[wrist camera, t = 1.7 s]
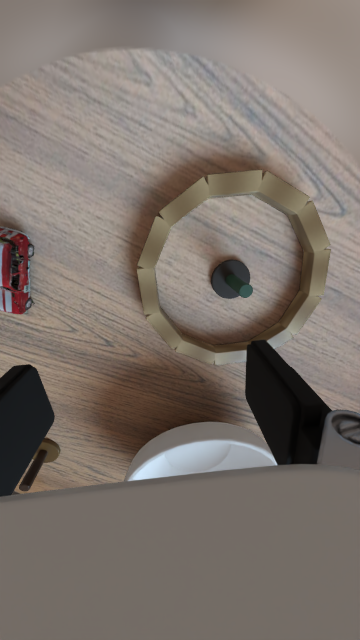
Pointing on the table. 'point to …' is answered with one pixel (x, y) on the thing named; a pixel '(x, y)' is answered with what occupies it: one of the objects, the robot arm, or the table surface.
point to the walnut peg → (40, 462)
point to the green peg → (231, 280)
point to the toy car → (15, 271)
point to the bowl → (200, 451)
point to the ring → (304, 227)
